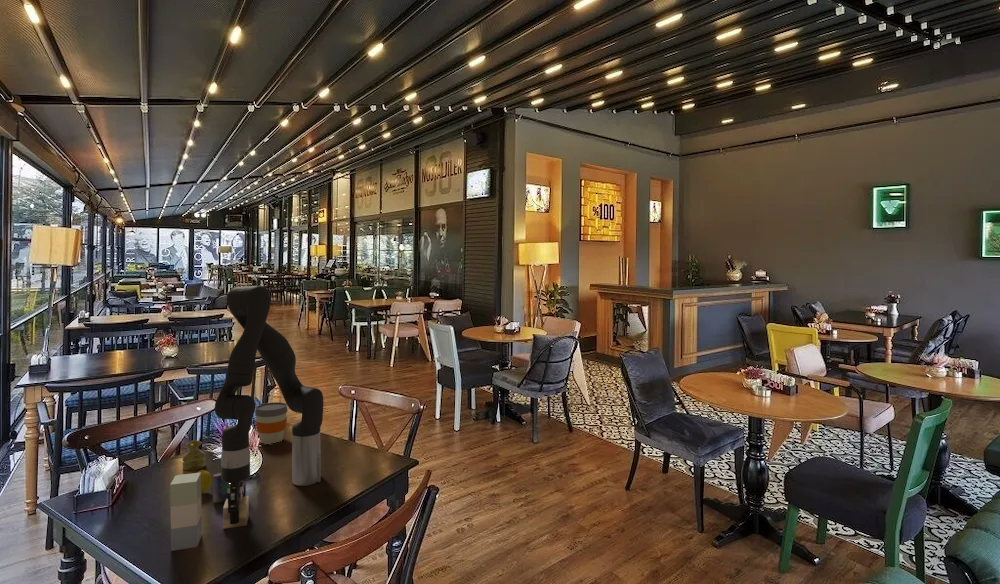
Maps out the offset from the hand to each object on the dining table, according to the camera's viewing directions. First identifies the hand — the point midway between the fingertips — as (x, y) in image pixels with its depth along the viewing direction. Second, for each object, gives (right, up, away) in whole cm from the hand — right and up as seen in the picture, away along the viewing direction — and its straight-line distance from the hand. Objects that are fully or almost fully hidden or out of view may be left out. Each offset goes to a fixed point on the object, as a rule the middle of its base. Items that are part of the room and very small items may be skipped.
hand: (236, 517), depth 146 cm
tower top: (-7, +10, -12) cm, 17 cm away
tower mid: (-7, +4, -12) cm, 14 cm away
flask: (-9, 0, +14) cm, 17 cm away
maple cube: (0, -1, 0) cm, 1 cm away
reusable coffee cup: (-20, +3, +66) cm, 69 cm away
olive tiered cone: (-36, +1, +38) cm, 52 cm away
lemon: (-20, 0, +17) cm, 26 cm away
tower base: (-7, -2, -11) cm, 14 cm away
